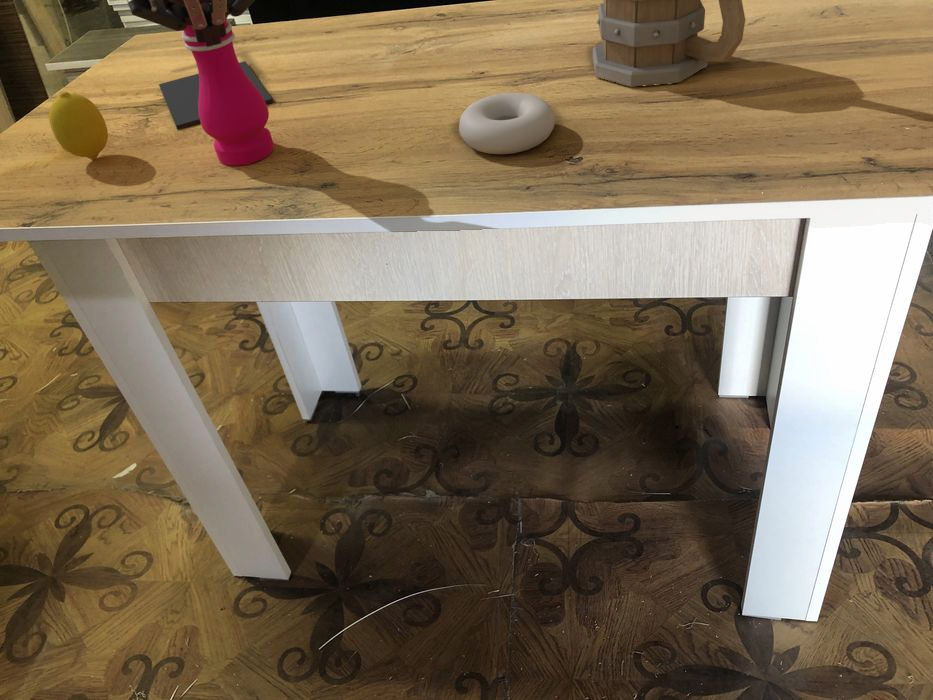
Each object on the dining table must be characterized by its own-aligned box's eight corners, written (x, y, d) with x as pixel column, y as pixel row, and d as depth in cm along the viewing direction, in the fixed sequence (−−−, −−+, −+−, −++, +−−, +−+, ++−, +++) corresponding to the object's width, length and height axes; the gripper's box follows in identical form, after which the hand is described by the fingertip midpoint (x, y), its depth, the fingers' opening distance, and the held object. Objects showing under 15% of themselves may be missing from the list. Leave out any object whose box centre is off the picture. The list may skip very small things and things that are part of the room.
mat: (177, 129, 93) (175, 125, 93) (160, 87, 105) (158, 84, 104) (273, 102, 96) (272, 98, 96) (246, 64, 107) (245, 60, 107)
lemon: (122, 144, 92) (93, 78, 86) (114, 165, 87) (83, 97, 82) (75, 152, 91) (43, 87, 86) (64, 174, 87) (30, 106, 82)
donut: (443, 154, 80) (530, 166, 76) (438, 123, 78) (527, 133, 74) (488, 113, 87) (571, 122, 82) (485, 83, 84) (569, 90, 80)
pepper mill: (202, 156, 86) (131, -36, 73) (257, 132, 90) (199, -56, 77) (234, 175, 82) (165, -26, 69) (291, 148, 85) (235, -48, 72)
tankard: (571, 71, 92) (568, -67, 83) (639, 37, 98) (644, -96, 88) (715, 112, 80) (730, -44, 70) (783, 71, 86) (806, -80, 76)
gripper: (252, -146, 60) (262, -15, 77) (77, -111, 57) (127, 18, 74) (287, -59, 60) (289, 54, 76) (113, -19, 56) (155, 90, 73)
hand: (210, 36), depth 75 cm, fingers closed
